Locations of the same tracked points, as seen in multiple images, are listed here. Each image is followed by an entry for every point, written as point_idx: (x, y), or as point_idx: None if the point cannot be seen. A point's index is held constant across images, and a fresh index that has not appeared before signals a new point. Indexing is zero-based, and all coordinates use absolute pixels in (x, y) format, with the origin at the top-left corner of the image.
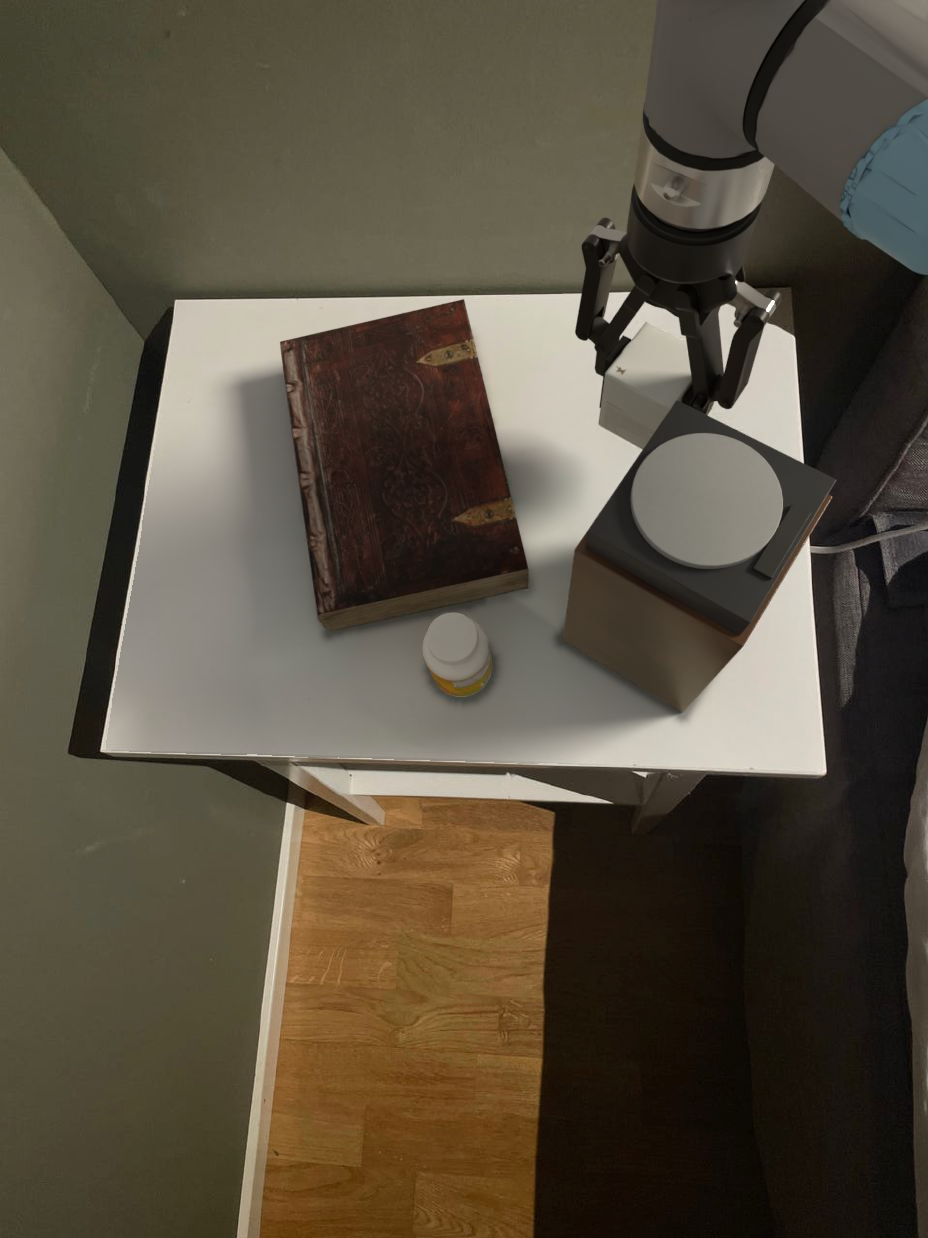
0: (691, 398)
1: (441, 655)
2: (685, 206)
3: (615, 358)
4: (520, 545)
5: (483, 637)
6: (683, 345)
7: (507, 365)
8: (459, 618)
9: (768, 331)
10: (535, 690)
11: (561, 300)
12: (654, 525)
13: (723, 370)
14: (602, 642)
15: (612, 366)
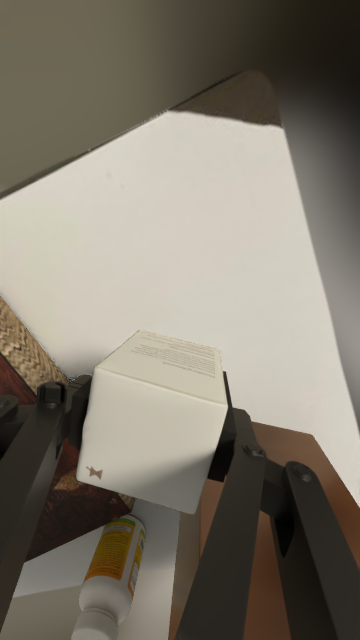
0: (220, 476)
1: None
2: None
3: (81, 438)
4: (115, 496)
5: (120, 600)
6: (174, 404)
7: (31, 288)
8: (90, 632)
9: (265, 137)
10: (178, 530)
11: (39, 190)
12: None
13: (264, 468)
14: None
15: (80, 467)
